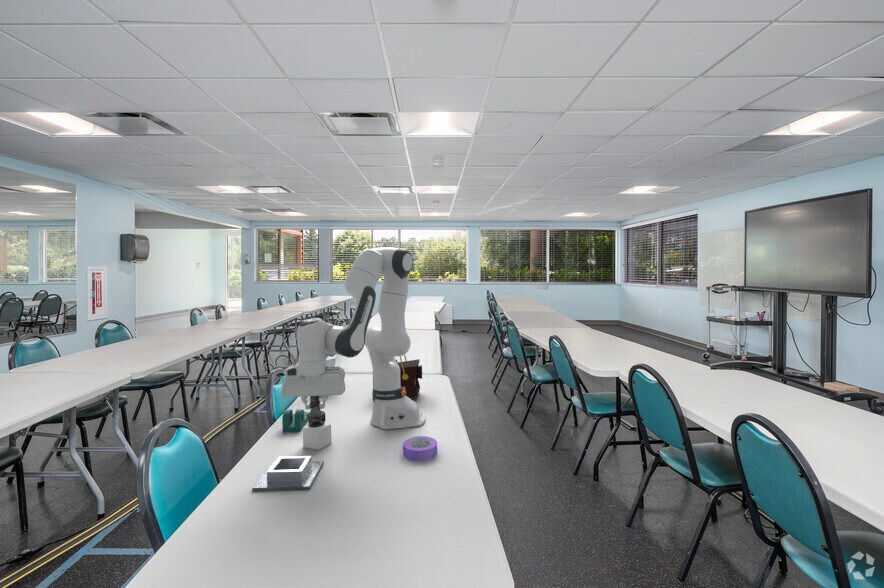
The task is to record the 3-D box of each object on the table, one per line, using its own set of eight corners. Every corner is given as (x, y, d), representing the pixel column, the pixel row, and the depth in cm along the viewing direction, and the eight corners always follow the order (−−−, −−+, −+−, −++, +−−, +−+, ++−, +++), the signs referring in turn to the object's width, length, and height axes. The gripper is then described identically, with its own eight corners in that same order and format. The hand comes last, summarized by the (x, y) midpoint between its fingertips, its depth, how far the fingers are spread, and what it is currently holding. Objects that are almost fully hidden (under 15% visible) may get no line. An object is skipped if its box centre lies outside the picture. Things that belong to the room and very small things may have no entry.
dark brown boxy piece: (420, 401, 196) (419, 349, 194) (372, 402, 196) (371, 350, 195) (422, 391, 212) (422, 343, 211) (377, 392, 212) (376, 344, 211)
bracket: (300, 432, 160) (299, 412, 159) (282, 433, 159) (282, 413, 159) (311, 416, 178) (310, 398, 177) (295, 417, 177) (294, 399, 177)
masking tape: (419, 465, 131) (419, 453, 131) (395, 454, 139) (395, 443, 139) (444, 453, 140) (444, 442, 140) (420, 443, 148) (420, 433, 148)
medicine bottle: (331, 442, 149) (331, 410, 148) (318, 450, 142) (317, 416, 142) (316, 439, 152) (315, 407, 151) (302, 447, 145) (301, 413, 145)
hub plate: (323, 463, 132) (323, 451, 132) (309, 489, 116) (309, 475, 116) (273, 465, 132) (273, 452, 132) (252, 491, 116) (251, 477, 116)
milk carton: (327, 388, 220) (326, 351, 219) (339, 391, 215) (338, 353, 214) (314, 393, 212) (313, 354, 211) (326, 395, 207) (325, 356, 207)
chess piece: (308, 429, 133) (305, 393, 133) (305, 423, 139) (303, 388, 138) (326, 425, 136) (324, 390, 135) (323, 419, 141) (321, 385, 140)
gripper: (346, 364, 139) (348, 403, 140) (285, 366, 139) (288, 406, 140) (342, 368, 133) (344, 410, 134) (278, 371, 132) (281, 413, 133)
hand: (315, 408), depth 137 cm, fingers closed on chess piece, 3 cm apart
